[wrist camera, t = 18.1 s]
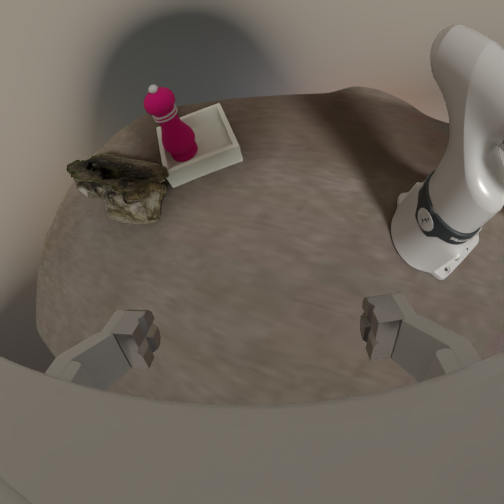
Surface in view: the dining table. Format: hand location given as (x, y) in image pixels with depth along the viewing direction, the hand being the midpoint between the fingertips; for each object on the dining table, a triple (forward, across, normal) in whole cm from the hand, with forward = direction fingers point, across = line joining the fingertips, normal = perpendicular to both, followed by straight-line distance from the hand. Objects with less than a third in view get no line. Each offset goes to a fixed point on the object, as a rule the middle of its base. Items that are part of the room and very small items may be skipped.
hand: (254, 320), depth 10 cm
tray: (+54, +15, -5) cm, 56 cm away
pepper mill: (+53, +18, -5) cm, 56 cm away
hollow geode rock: (+48, +32, +2) cm, 58 cm away
